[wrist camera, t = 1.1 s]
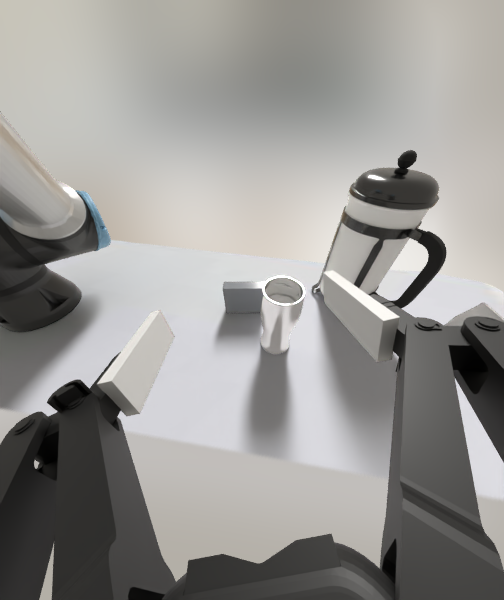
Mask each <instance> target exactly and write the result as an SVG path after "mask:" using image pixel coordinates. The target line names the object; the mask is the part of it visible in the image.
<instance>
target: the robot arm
mask: <svg viewBox="0 0 504 600" xmlns="http://www.w3.org/2000/svg"><path fill="white" fill-rule="evenodd" d="M110 243H111V239H110V236H109V233H108V231H107V229H106V227H105V225H104V222H103V220H102V218H101V216H100V214H99V212H98V210H97V208H96V206H95V204H94V202H93V200H92V199H91V197H90V196H89V195H88V194H87V193H86V192H84V191H74V190H73V189H72V188H71V187H69V186H68V185H66V184H64V183H62V182H60V181H58V180H56V179H54V178H53V177H52V175H51V174H50V173H49V172H48V170H47V169H46V168H45V167H44V165H43V164H42V163H41V162H40V160H39V159H38V158H37V157H36V156H35V154H34V153H33V152H32V151H31V149H30V148H29V147H28V145H27V144H26V143H25V142H24V141H23V139H22V138H21V137H20V135H19V134H18V133H17V132H16V131H15V129H14V128H13V127H12V126H11V124H10V123H9V122H8V121H7V119H6V118H5V117H4V116H3V114H2V113H1V112H0V325H1V326H3V327H4V328H6V329H8V330H10V331H15V332H23V331H30V330H34V329H38V328H41V327H44V326H46V325H49V324H51V323H53V322H55V321H57V320H59V319H60V318H62V317H63V316H65V315H66V314H68V313H69V312H70V311H71V310H72V309H73V308H74V307H75V306H76V305H77V304H78V303H79V301H80V299H81V291H80V290H79V288H78V287H77V286H76V285H75V284H74V283H72V282H71V281H69V280H67V279H65V278H64V277H62V276H60V275H58V274H57V273H55V272H53V271H51V270H49V269H48V268H47V267H46V266H45V265H44V264H47V263H50V262H54V261H58V260H61V259H65V258H69V257H72V256H76V255H80V254H83V253H87V252H91V251H98V250H99V249H101V248H104V247H107V246H109V245H110ZM323 284H324V303H325V304H326V305H327V307H328V308H329V309H330V310H331V311H332V312H333V313H334V314H335V316H336V317H337V318H338V319H339V320H340V321H341V322H342V324H343V325H344V326H345V327H346V328H347V329H348V330H349V332H350V333H351V334H352V335H353V336H354V337H355V338H356V339H357V341H358V342H359V343H360V344H361V345H362V346H363V347H364V349H365V350H366V351H367V352H368V353H369V354H370V355H371V357H372V358H373V359H374V360H375V361H376V362H377V363H378V362H383V361H387V360H391V359H392V354H393V351H394V352H395V353H396V354H397V355H398V356H399V359H398V364H397V368H396V372H397V381H396V394H395V407H394V420H393V432H392V445H391V458H390V471H389V483H388V496H387V509H386V518H385V525H384V531H383V538H382V548H381V560H380V569H379V568H378V567H377V566H376V565H375V564H374V563H373V562H371V561H370V560H369V559H367V558H366V557H365V556H364V555H362V554H360V553H359V552H357V551H355V550H354V549H352V548H350V547H347V546H345V545H343V544H339V543H335V542H334V541H333V537H332V534H327V535H322V536H317V537H311V538H306V539H301V540H296V541H294V542H293V543H291V544H290V545H288V546H287V547H286V548H284V549H283V550H281V551H280V552H278V553H277V554H275V555H274V556H272V557H271V558H269V559H268V560H266V561H265V562H263V563H260V564H257V563H253V562H250V561H246V560H242V559H239V558H235V557H232V556H228V555H224V554H220V555H215V556H210V557H205V558H199V559H194V560H189V561H188V568H187V573H186V574H185V575H184V576H182V577H181V578H180V579H179V580H178V581H177V582H176V581H175V579H174V576H173V574H172V572H171V571H170V569H169V568H168V566H167V565H166V563H165V562H164V560H163V558H162V555H161V552H160V549H159V546H158V542H157V539H156V536H155V532H154V529H153V526H152V523H151V520H150V516H149V513H148V509H147V506H146V503H145V499H144V496H143V493H142V490H141V486H140V483H139V480H138V476H137V473H136V470H135V466H134V463H133V460H132V457H131V453H130V450H129V447H128V444H127V440H126V437H125V433H124V430H123V427H122V423H121V421H120V419H119V418H118V417H117V416H118V414H119V412H120V411H122V412H123V413H124V414H125V415H126V416H131V415H135V414H140V412H141V410H142V408H143V406H144V403H145V401H146V399H147V397H148V395H149V392H150V390H151V388H152V386H153V384H154V381H155V379H156V377H157V375H158V372H159V370H160V368H161V366H162V364H163V361H164V359H165V357H166V355H167V352H168V350H169V348H170V346H171V344H172V341H173V339H174V337H175V336H174V334H173V332H172V331H171V329H170V327H169V325H168V323H167V321H166V319H165V317H164V316H163V314H162V312H161V310H159V311H154V312H151V313H150V315H149V316H148V317H147V319H146V320H145V321H144V322H143V324H142V325H141V326H140V328H139V329H138V330H137V332H136V333H135V334H134V336H133V337H132V338H131V340H130V341H129V342H128V344H127V345H126V346H125V347H124V349H123V350H122V351H121V352H120V353H119V354H118V355H117V356H115V357H114V358H113V359H112V361H111V362H110V363H109V365H108V366H107V367H106V368H105V370H104V372H102V373H101V375H100V376H99V377H98V379H97V380H96V381H95V382H94V384H93V385H92V386H91V388H90V389H89V388H88V387H87V386H86V385H85V384H84V383H83V382H82V381H81V380H74V381H71V382H69V383H67V384H65V385H64V386H62V387H61V388H59V389H58V390H57V391H55V392H54V393H53V394H52V395H51V397H50V398H49V399H48V401H47V403H48V404H49V405H51V406H52V407H53V408H54V409H55V410H57V411H58V412H57V413H55V414H53V415H51V416H49V417H48V416H47V415H45V414H44V413H43V412H36V413H34V414H31V415H29V416H28V417H26V418H24V419H22V420H21V421H20V422H18V423H17V424H16V425H15V426H14V427H13V428H12V429H11V430H10V431H9V432H8V434H7V435H6V436H5V438H4V439H3V441H2V443H1V445H0V600H39V598H40V594H41V590H42V586H43V582H44V579H45V575H46V571H47V567H48V563H49V559H50V555H51V551H52V548H53V543H54V564H53V586H52V600H504V570H503V567H502V563H501V559H500V556H499V554H498V551H497V549H496V547H495V545H494V543H493V542H492V541H491V539H490V538H489V537H488V536H487V535H486V533H485V532H484V529H483V527H482V524H481V520H480V515H479V510H478V504H477V498H476V493H475V487H474V482H473V477H472V471H471V466H470V460H469V455H468V449H467V444H466V438H465V433H464V427H463V422H462V417H461V411H460V406H459V400H458V395H457V389H456V384H455V378H456V380H457V382H458V384H459V385H460V387H461V389H462V391H463V392H464V394H465V396H466V398H467V399H468V401H469V403H470V405H471V406H472V408H473V410H474V412H475V413H476V415H477V417H478V418H479V420H480V422H481V424H482V425H483V427H484V429H485V431H486V432H487V434H488V436H489V438H490V439H491V441H492V443H493V445H494V446H495V448H496V450H497V452H498V453H499V455H500V457H501V459H502V460H503V462H504V322H502V321H499V320H497V319H494V318H489V317H481V316H473V317H468V318H466V319H465V320H464V322H463V325H462V326H443V325H442V324H440V323H439V322H437V321H435V320H432V319H428V318H419V317H417V318H415V317H413V316H412V315H410V314H408V313H407V312H405V311H404V310H402V309H401V308H399V307H398V306H395V305H394V304H393V303H391V302H390V301H388V300H387V299H385V298H384V297H381V296H378V295H375V294H372V295H368V294H366V293H365V292H363V291H362V290H360V289H359V288H358V287H356V286H355V285H353V284H352V283H350V282H349V281H348V280H346V279H345V278H343V277H342V276H340V275H339V274H338V273H336V272H335V271H333V270H332V271H327V272H323ZM454 377H455V378H454ZM34 460H36V461H38V462H39V465H38V468H37V469H35V467H34Z"/></svg>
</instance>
